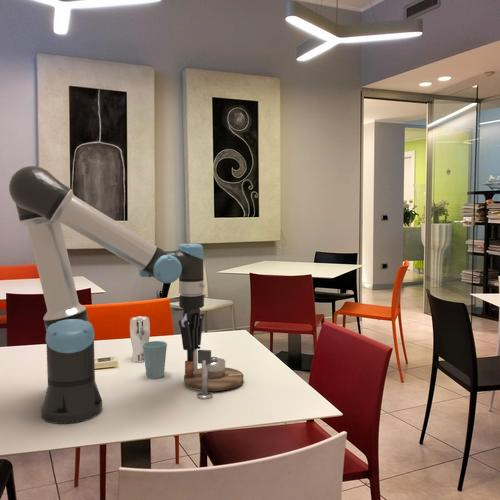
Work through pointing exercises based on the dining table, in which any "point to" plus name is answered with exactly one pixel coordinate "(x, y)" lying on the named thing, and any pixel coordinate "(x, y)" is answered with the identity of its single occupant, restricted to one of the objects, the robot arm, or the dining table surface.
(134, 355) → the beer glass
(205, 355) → the indicator post
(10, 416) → the dining table surface
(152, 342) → the cup
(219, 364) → the cover
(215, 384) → the turntable
